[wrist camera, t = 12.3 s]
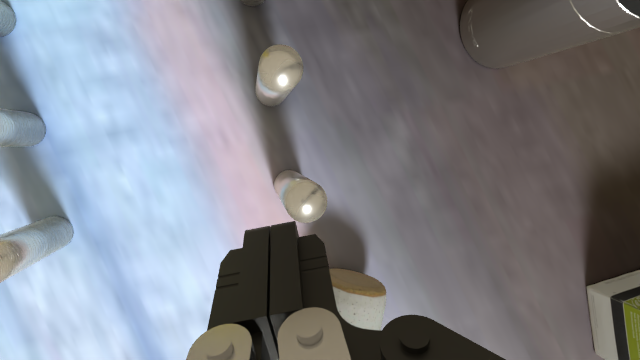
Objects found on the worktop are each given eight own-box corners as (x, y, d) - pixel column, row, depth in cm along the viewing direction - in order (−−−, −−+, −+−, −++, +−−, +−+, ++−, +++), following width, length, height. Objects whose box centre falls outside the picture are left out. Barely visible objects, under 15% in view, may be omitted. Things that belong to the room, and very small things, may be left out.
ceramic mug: (376, 270, 43) (402, 297, 35) (360, 339, 43) (383, 379, 36) (285, 255, 41) (292, 279, 33) (270, 327, 41) (273, 367, 34)
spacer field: (264, -29, 38) (272, -108, 26) (306, 196, 41) (330, 217, 29) (-30, 2, 33) (-181, -76, 21) (41, 252, 36) (-58, 304, 24)
